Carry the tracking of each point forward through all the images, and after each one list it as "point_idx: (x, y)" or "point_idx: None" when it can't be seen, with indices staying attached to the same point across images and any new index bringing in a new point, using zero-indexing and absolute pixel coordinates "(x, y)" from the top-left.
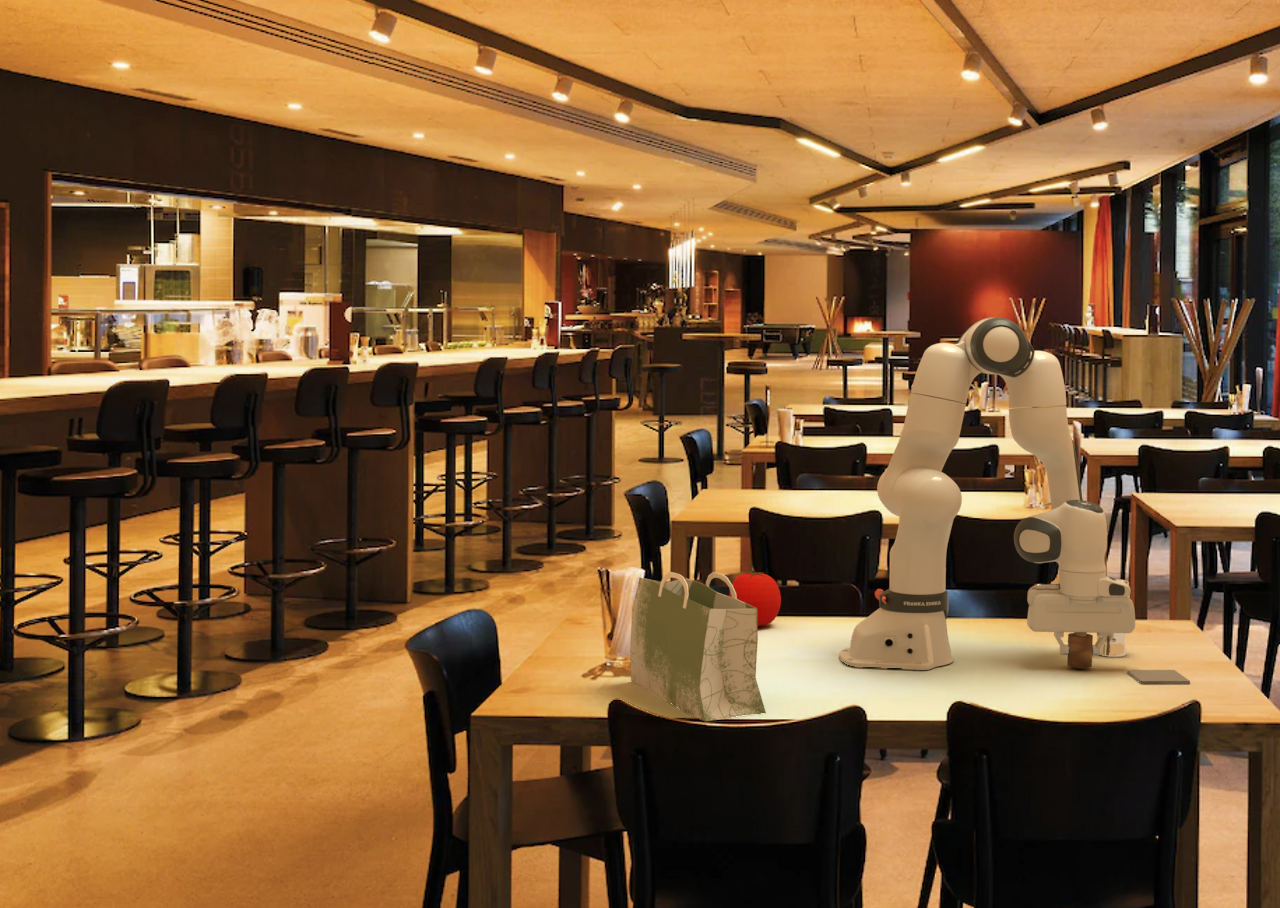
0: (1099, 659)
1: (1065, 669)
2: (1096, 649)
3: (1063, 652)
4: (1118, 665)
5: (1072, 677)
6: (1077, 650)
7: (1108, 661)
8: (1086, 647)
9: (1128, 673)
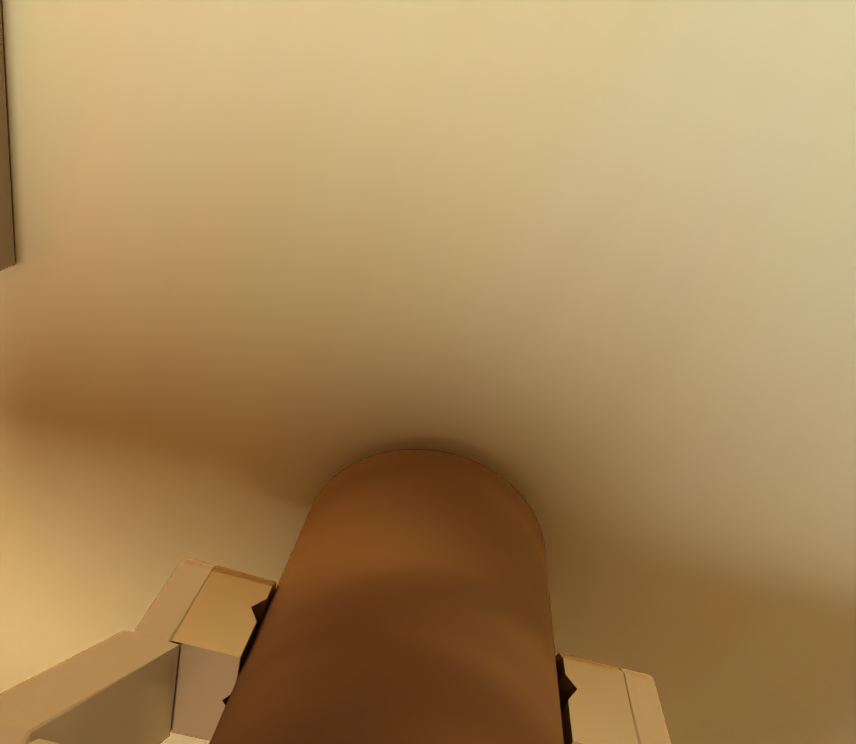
0: None
1: (571, 542)
2: (205, 613)
3: (631, 684)
4: (21, 552)
5: (713, 216)
6: (503, 617)
7: None
8: (371, 619)
9: (7, 215)
